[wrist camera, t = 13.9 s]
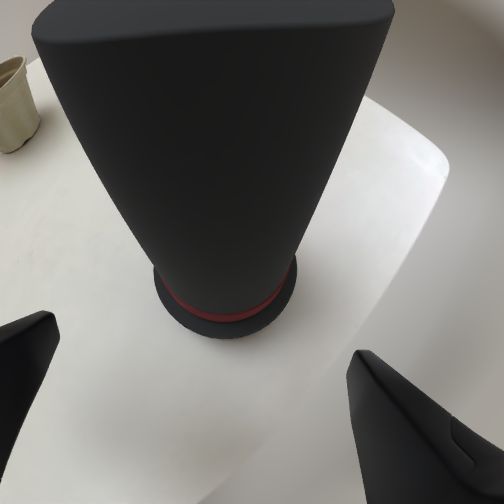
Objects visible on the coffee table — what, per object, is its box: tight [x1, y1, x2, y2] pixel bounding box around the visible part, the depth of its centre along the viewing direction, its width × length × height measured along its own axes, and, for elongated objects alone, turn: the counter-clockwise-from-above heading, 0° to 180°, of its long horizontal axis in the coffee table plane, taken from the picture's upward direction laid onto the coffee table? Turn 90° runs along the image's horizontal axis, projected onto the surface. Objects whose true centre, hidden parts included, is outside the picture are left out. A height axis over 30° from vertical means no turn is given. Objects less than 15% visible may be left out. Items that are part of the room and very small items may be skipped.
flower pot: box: [0, 55, 40, 153], centre depth 21 cm, size 9×9×9 cm
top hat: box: [31, 0, 395, 339], centre depth 10 cm, size 8×8×15 cm
